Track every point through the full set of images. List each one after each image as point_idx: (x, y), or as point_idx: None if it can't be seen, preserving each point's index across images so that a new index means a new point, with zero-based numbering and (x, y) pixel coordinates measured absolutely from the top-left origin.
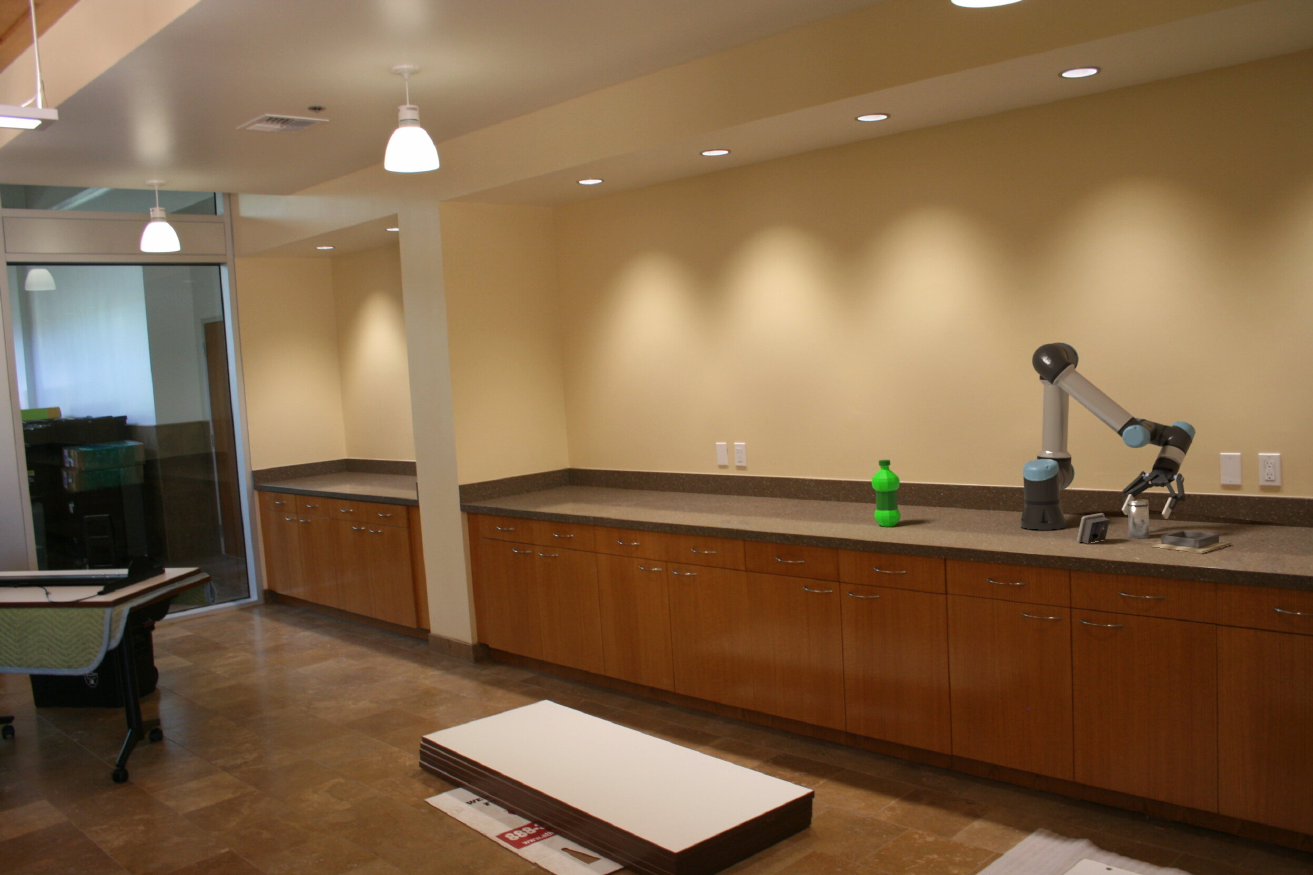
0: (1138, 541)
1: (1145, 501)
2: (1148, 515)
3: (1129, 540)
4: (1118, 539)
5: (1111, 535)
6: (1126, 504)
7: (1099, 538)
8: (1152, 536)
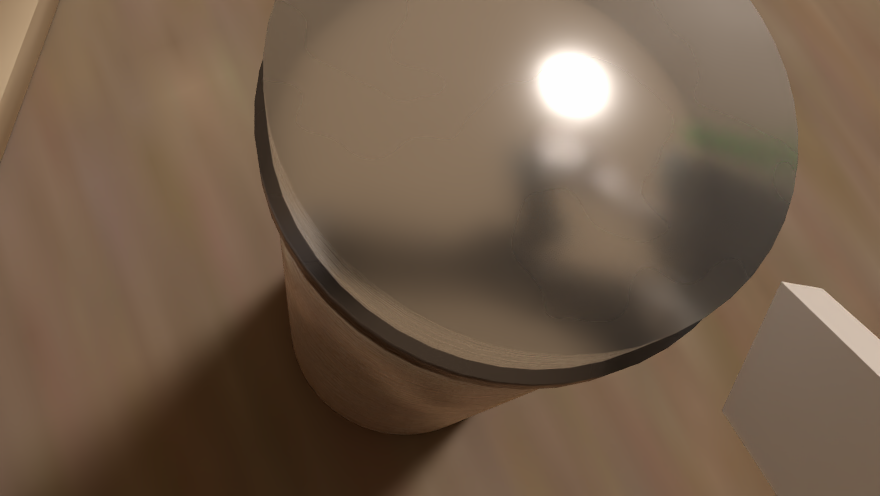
0: None
1: (297, 3)
2: (282, 255)
3: None
4: None
5: None
6: (864, 367)
7: None
8: (280, 417)
